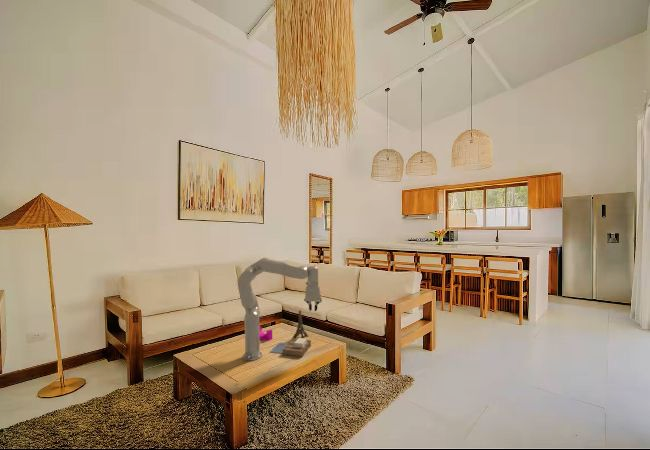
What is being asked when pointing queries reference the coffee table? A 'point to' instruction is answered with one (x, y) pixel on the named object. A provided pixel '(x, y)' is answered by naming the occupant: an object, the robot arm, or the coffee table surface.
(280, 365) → the coffee table surface
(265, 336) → the toy block
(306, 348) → the deck
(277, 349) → the mat
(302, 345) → the beige rectangular block
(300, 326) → the eiffel tower
